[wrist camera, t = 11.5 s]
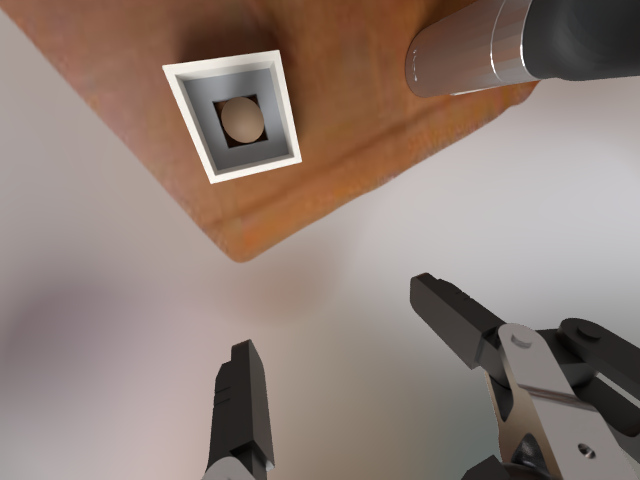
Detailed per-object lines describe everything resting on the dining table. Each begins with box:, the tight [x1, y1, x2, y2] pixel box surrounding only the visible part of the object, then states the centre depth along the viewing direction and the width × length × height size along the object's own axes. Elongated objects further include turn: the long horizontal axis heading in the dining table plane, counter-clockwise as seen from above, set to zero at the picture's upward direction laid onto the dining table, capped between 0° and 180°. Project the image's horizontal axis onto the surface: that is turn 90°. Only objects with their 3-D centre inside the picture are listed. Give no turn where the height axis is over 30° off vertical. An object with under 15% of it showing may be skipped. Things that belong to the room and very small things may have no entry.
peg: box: [221, 97, 264, 143], centre depth 27 cm, size 4×4×11 cm
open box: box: [162, 50, 302, 184], centre depth 29 cm, size 12×12×6 cm
